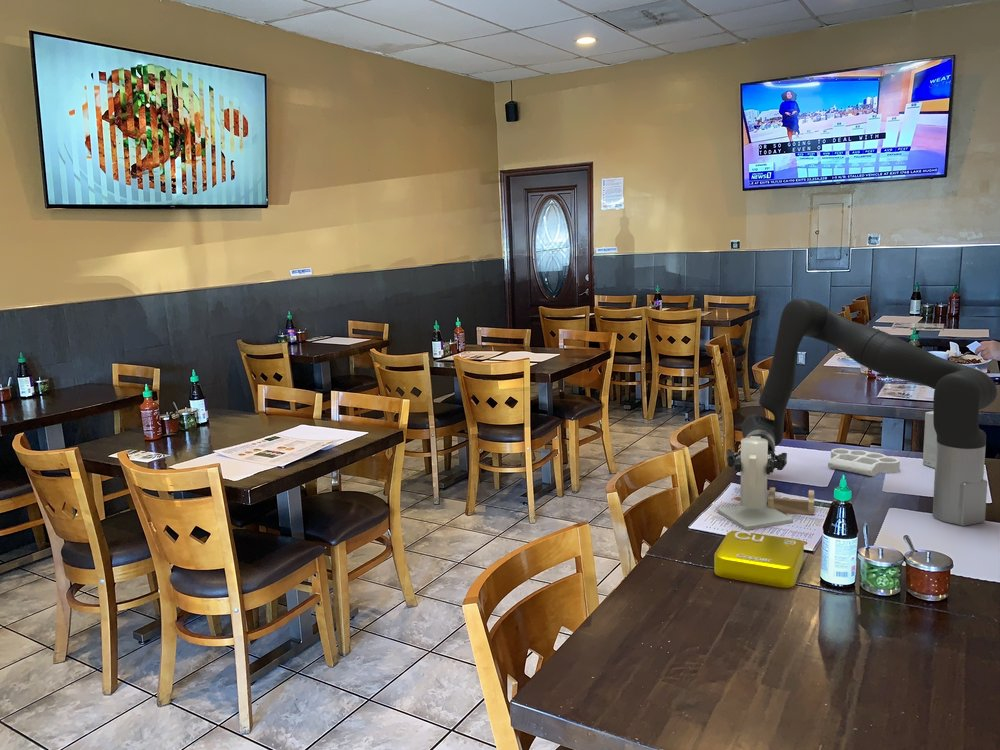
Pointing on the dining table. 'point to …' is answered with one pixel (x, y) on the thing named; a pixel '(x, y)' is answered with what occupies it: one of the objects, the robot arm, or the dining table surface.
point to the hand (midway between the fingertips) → (753, 469)
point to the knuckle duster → (863, 462)
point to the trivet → (754, 516)
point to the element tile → (759, 559)
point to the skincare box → (929, 441)
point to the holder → (791, 503)
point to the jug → (754, 472)
